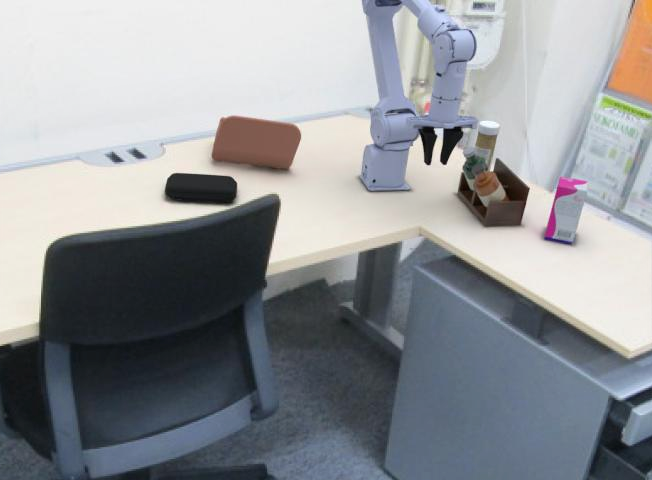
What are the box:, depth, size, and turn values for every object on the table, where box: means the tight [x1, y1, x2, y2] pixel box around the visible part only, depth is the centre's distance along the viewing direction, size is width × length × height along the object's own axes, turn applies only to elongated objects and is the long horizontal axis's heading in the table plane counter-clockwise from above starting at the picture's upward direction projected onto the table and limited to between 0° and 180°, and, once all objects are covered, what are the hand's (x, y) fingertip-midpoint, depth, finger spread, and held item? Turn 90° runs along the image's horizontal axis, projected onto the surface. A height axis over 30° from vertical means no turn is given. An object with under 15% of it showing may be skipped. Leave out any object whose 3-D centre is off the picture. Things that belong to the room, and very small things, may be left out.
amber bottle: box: [472, 163, 509, 210], centre depth 182 cm, size 5×5×10 cm
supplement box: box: [543, 176, 589, 245], centre depth 178 cm, size 6×6×12 cm
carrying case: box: [164, 172, 238, 204], centre depth 185 cm, size 11×3×15 cm
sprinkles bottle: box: [474, 120, 501, 171], centre depth 198 cm, size 5×5×13 cm
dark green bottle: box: [462, 146, 491, 195], centre depth 188 cm, size 5×5×10 cm
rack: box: [456, 157, 531, 227], centre depth 187 cm, size 8×16×8 cm, turn 12°
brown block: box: [211, 114, 302, 170], centre depth 200 cm, size 16×17×15 cm
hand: (435, 163), depth 181 cm, fingers open, 3 cm apart
